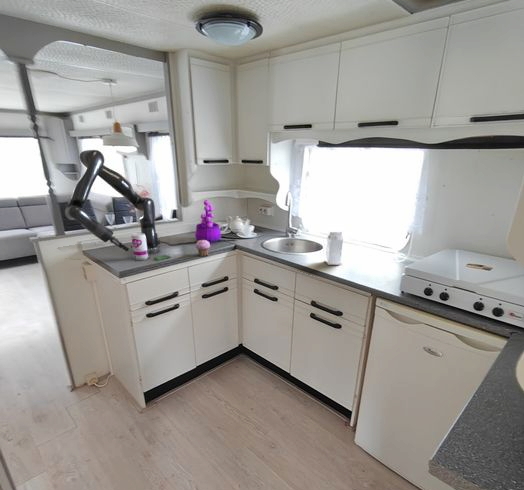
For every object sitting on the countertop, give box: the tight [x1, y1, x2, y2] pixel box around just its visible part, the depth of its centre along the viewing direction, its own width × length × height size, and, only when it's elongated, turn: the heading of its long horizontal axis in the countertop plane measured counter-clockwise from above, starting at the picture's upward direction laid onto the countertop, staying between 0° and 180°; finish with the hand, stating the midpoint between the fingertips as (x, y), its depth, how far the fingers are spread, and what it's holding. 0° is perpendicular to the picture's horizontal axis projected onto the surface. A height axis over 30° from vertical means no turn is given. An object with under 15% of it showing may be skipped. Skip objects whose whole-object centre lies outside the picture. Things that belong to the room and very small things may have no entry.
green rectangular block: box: [153, 254, 170, 261], centre depth 199 cm, size 8×4×1 cm, turn 136°
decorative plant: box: [194, 199, 222, 244], centre depth 232 cm, size 19×18×30 cm
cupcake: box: [195, 240, 211, 257], centre depth 205 cm, size 9×9×10 cm
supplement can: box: [130, 232, 149, 261], centre depth 196 cm, size 8×8×15 cm
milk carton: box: [325, 231, 344, 266], centre depth 192 cm, size 7×7×19 cm
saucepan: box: [130, 244, 160, 255], centre depth 212 cm, size 19×11×4 cm, turn 76°
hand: (127, 250), depth 192 cm, fingers closed
